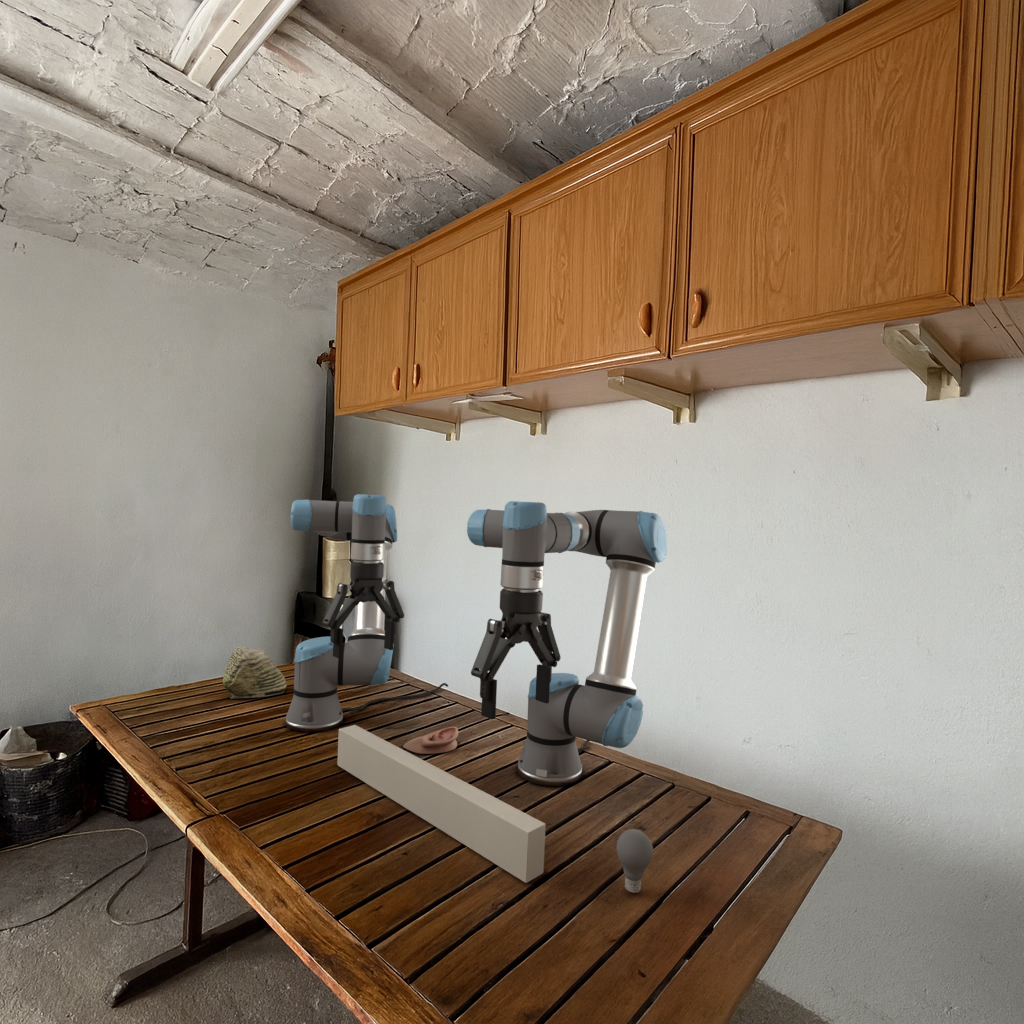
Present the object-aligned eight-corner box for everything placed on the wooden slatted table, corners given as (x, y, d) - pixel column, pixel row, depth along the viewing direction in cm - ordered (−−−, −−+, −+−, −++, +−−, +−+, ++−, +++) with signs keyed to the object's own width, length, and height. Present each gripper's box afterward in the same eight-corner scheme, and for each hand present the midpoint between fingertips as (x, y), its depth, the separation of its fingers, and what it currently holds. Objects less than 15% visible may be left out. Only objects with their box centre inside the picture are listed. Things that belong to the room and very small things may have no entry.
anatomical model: (398, 735, 159) (414, 720, 170) (398, 751, 159) (414, 734, 170) (449, 741, 156) (462, 725, 167) (448, 757, 156) (461, 740, 168)
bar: (337, 765, 150) (338, 728, 149) (353, 760, 153) (355, 724, 153) (526, 883, 107) (528, 832, 106) (543, 873, 110) (545, 823, 110)
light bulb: (610, 879, 108) (613, 822, 108) (644, 879, 109) (647, 822, 109) (619, 902, 102) (622, 840, 102) (655, 901, 103) (658, 840, 103)
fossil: (218, 695, 195) (220, 647, 195) (278, 685, 208) (279, 640, 207) (228, 703, 189) (230, 653, 188) (289, 692, 201) (290, 645, 201)
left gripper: (326, 565, 134) (322, 664, 135) (420, 560, 152) (417, 648, 153) (309, 561, 140) (305, 657, 140) (402, 557, 157) (399, 642, 158)
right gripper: (484, 597, 100) (478, 731, 100) (582, 587, 118) (577, 700, 118) (453, 591, 105) (448, 718, 105) (552, 582, 123) (547, 690, 123)
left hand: (363, 653), depth 146 cm, fingers open, 13 cm apart
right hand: (516, 709), depth 112 cm, fingers open, 13 cm apart
